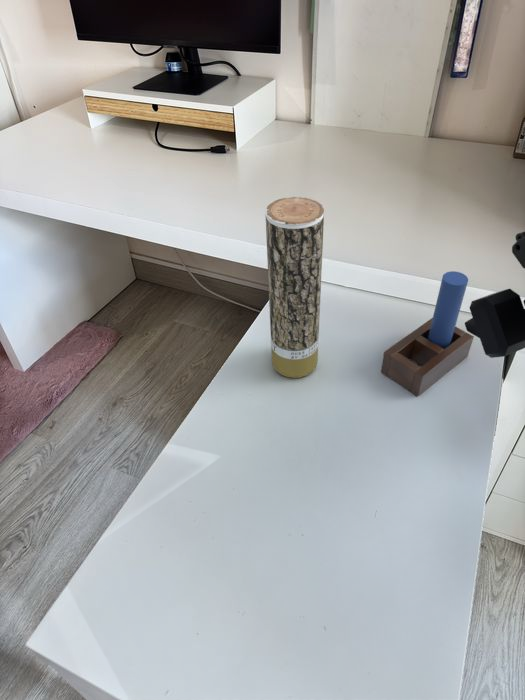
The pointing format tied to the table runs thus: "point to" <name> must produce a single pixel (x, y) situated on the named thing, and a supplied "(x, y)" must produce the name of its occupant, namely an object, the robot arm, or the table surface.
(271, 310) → the paper tube
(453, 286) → the peg
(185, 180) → the table surface
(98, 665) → the table surface
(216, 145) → the table surface
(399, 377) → the rack
